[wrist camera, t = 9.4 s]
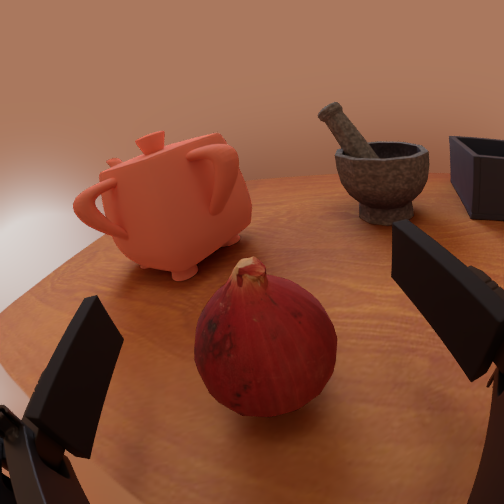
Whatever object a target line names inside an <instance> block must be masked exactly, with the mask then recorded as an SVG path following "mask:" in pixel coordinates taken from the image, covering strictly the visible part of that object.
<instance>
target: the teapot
mask: <svg viewBox="0 0 504 504" xmlns="http://www.w3.org/2000/svg"><path fill="white" fill-rule="evenodd" d="M164 137H165V134H164V131H158V132H154V133H151V134H148V135H145V136H143V137H141V138H139V139H137V140H136V141H135V142H136V144H137V146H138V147H139V148H140V150H141V151H142V152H143V153H144V154H142V155H139V156H137V157H134V158H132V159H130V160H127V161H125V162H122V161H121V160H120V159H119V158H112V159H109V160H107V161H106V163H108V165H109V166H110V167H111V168H109V169H107V170H105V171H102V172H101V173H100V175H99V180H100V183H97V184H95V185H93V186H91V187H89V188H88V189H86V190H85V191H83V192H82V193H80V194H79V195H78V196H77V197H76V198H75V201H74V203H73V209H74V212H75V214H76V215H77V217H78V218H79V219H80V220H81V221H82V222H83V223H85V224H86V225H88V226H89V227H91V228H93V229H96V230H98V231H100V232H103V233H105V234H108V235H111V236H112V237H113V240H114V242H115V244H116V245H117V247H118V248H119V249H120V251H121V252H122V253H123V254H124V255H125V256H126V257H128V258H129V259H130V260H132V261H134V262H136V263H137V264H140V268H142V269H147V268H154V269H159V270H165V271H171V272H172V278H173V280H175V281H183V280H187V279H189V278H191V277H192V276H194V275H195V274H196V273H197V271H198V267H197V265H196V264H197V263H199V262H200V261H202V260H203V259H205V258H206V257H207V256H209V255H210V254H212V253H213V252H214V251H216V250H217V249H219V248H220V247H225V246H230V245H233V244H235V243H237V242H238V241H239V240H240V236H239V235H238V233H240V232H241V231H242V230H243V229H245V228H246V227H247V226H248V225H249V224H250V222H251V212H252V204H251V199H250V195H249V192H248V189H247V186H246V183H245V181H244V178H243V176H242V173H241V171H240V169H239V158H238V154H237V152H236V150H235V149H234V148H233V147H231V146H230V145H227V143H226V140H225V139H224V138H223V137H222V135H221V134H219V133H213V134H209V135H204V136H200V137H196V138H192V139H188V140H184V141H180V142H177V143H173V144H170V145H167V146H164ZM99 195H101V196H102V202H103V207H104V211H105V216H106V217H105V216H104V215H103V214H102V213H101V212H100V211H99V210H98V209H97V207H96V205H95V200H96V198H97V197H98V196H99Z"/></svg>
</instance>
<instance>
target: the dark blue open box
mask: <svg viewBox="0 0 504 504" xmlns="http://www.w3.org/2000/svg"><path fill="white" fill-rule="evenodd" d="M449 143H450V166H451V167H450V168H451V183H452V185H453V186H454V188H455V190H456V192H457V193H458V195H459V197H460V199H461V201H462V202H463V204H464V206H465V208H466V210H467V212H468V214H469V216H470V218H471V219H486V220H503V221H504V140H496V139H486V138H474V137H460V136H449Z"/></svg>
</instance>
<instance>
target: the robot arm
mask: <svg viewBox="0 0 504 504" xmlns="http://www.w3.org/2000/svg"><path fill="white" fill-rule="evenodd" d="M391 277H392V278H393V279H394V281H395V282H396V283H397V284H398V285H399V286H400V288H401V289H402V290H403V291H404V293H405V294H406V295H407V296H408V297H409V299H410V300H411V301H412V302H413V304H414V305H415V306H416V307H417V309H418V310H419V311H420V312H421V314H422V315H423V316H424V317H425V319H426V320H427V321H428V323H429V324H430V325H431V327H432V328H433V329H434V330H435V332H436V333H437V334H438V336H439V337H440V339H441V340H442V341H443V343H444V344H445V345H446V347H447V348H448V350H449V351H450V352H451V354H452V355H453V357H454V358H455V359H456V361H457V362H458V364H459V365H460V367H461V368H462V370H463V371H464V373H465V374H466V376H467V377H468V379H469V380H470V382H473V381H474V380H476V379H478V378H479V377H481V376H482V375H484V374H485V373H487V371H488V369H489V367H490V366H491V364H492V362H494V363H495V365H496V366H497V367H496V369H495V371H494V373H493V374H492V376H491V378H490V379H489V381H488V383H487V387H489V386H490V385H491V383H492V382H493V380H494V383H493V387H492V388H493V394H492V403H491V410H490V417H489V424H488V429H487V435H486V440H485V444H484V449H483V453H482V457H481V461H480V465H479V469H478V472H477V476H476V479H475V482H474V485H473V488H472V491H471V494H470V497H469V500H468V503H467V504H504V290H503V289H502V288H501V287H499V286H498V284H497V283H496V282H494V281H492V280H491V278H490V277H489V276H488V275H487V274H485V273H484V272H483V271H481V270H479V269H477V268H475V267H473V266H469V267H467V266H466V265H464V264H463V263H462V262H461V261H460V260H459V259H457V258H456V257H455V256H454V255H453V254H451V253H450V252H449V251H448V250H446V249H445V248H444V247H443V246H441V245H440V244H439V243H438V242H436V241H435V240H434V239H433V238H431V237H430V236H429V235H427V234H426V233H425V232H423V231H422V230H421V229H419V228H418V227H417V226H415V225H414V224H413V223H411V222H410V221H409V220H407V219H405V220H401V221H397V222H393V223H392V272H391ZM123 341H124V338H123V337H122V335H121V334H120V332H119V331H118V329H117V328H116V326H115V324H114V323H113V321H112V320H111V318H110V316H109V315H108V313H107V311H106V310H105V308H104V306H103V305H102V303H101V301H100V299H99V298H98V296H97V295H96V296H91V297H87V298H84V300H83V302H82V303H81V305H80V307H79V308H78V310H77V312H76V313H75V315H74V317H73V319H72V320H71V322H70V324H69V326H68V327H67V329H66V331H65V333H64V335H63V336H62V338H61V340H60V342H59V344H58V346H57V348H56V350H55V352H54V353H53V355H52V357H51V359H50V361H49V363H48V365H47V367H46V369H45V370H44V371H43V372H42V374H41V377H40V379H39V381H38V384H37V385H36V387H35V389H34V390H35V392H33V394H32V396H31V399H30V401H29V403H28V406H27V408H26V410H25V413H24V415H23V418H22V420H20V419H19V418H18V417H17V416H15V415H14V414H13V413H12V412H11V411H10V410H9V409H8V408H7V407H6V406H5V405H0V504H90V503H89V501H88V499H87V497H86V495H85V493H84V491H83V489H82V488H81V485H80V483H79V481H78V479H77V476H76V475H75V472H74V470H73V467H72V465H71V463H70V460H69V459H68V457H67V456H65V455H64V452H65V449H66V450H67V451H68V452H70V453H71V454H73V455H74V456H76V457H81V458H87V459H90V456H91V452H92V447H93V443H94V439H95V435H96V431H97V427H98V423H99V419H100V415H101V411H102V408H103V404H104V401H105V397H106V394H107V390H108V387H109V384H110V381H111V377H112V374H113V371H114V368H115V365H116V362H117V359H118V356H119V353H120V350H121V347H122V344H123ZM2 467H3V468H4V469H6V470H7V471H9V474H10V478H9V477H7V476H6V475H4V474H3V473H2Z"/></svg>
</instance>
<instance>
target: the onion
mask: <svg viewBox="0 0 504 504" xmlns="http://www.w3.org/2000/svg"><path fill="white" fill-rule="evenodd" d="M336 350H337V336H336V332H335V329H334V326H333V324H332V322H331V320H330V318H329V316H328V315H327V313H326V311H325V309H324V308H323V306H322V305H321V303H320V302H319V301H318V300H317V299H316V298H315V297H314V296H313V295H312V294H311V293H309V292H308V291H306V290H305V289H304V288H302V287H301V286H299V285H298V284H296V283H294V282H292V281H290V280H287V279H285V278H280V277H276V276H272V275H266V268H265V265H264V264H263V263H262V262H261V261H260V260H258V259H257V258H256V257H255V256H253V257H250V258H243V259H241V260H240V261H239V262H238V263H237V265H236V266H235V268H234V269H233V271H232V273H231V275H230V277H229V279H228V281H227V282H226V284H225V285H224V286H222V287H221V288H219V289H218V290H217V291H216V292H215V294H214V295H213V296H212V297H211V299H210V300H209V301H208V303H207V304H206V306H205V308H204V309H203V311H202V313H201V315H200V317H199V319H198V323H197V327H196V336H195V347H194V354H195V363H196V366H197V369H198V372H199V374H200V376H201V378H202V380H203V382H204V384H205V385H206V387H207V389H208V391H209V393H210V394H211V395H212V396H213V397H214V398H215V399H216V400H217V401H218V402H219V403H221V404H222V405H224V406H226V407H227V408H229V409H231V410H233V411H235V412H236V413H238V414H240V415H242V416H256V417H273V416H277V415H281V414H285V413H288V412H292V411H295V410H298V409H300V408H301V407H302V406H304V405H305V404H307V403H308V402H310V401H311V400H312V399H314V398H315V397H316V396H318V395H319V394H320V393H321V392H322V390H323V388H324V387H325V385H326V384H327V382H328V380H329V379H330V377H331V376H332V374H333V371H334V366H335V362H336Z"/></svg>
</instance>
